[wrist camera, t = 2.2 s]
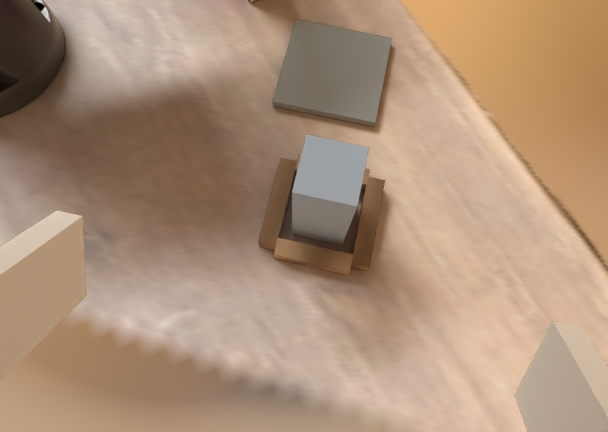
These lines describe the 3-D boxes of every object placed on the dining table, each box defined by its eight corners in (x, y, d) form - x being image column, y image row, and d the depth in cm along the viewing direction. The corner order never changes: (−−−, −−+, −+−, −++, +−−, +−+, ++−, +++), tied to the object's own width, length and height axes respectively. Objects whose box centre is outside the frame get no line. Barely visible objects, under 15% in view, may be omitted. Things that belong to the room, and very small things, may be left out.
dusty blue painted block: (292, 234, 40) (291, 192, 30) (303, 188, 41) (306, 134, 32) (342, 245, 40) (357, 206, 30) (351, 198, 41) (368, 147, 32)
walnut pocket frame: (257, 254, 39) (256, 250, 38) (283, 158, 42) (282, 150, 41) (365, 278, 39) (367, 275, 37) (383, 179, 42) (386, 172, 40)
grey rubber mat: (273, 105, 44) (272, 101, 43) (296, 24, 47) (296, 19, 46) (374, 126, 44) (375, 122, 43) (390, 43, 47) (392, 38, 46)
